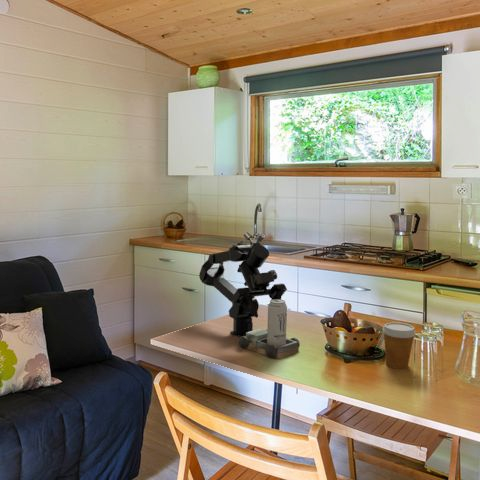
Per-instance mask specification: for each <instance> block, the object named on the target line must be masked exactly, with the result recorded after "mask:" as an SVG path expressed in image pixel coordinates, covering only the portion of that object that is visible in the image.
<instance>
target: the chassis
mask: <svg viewBox="0 0 480 480" xmlns="http://www.w3.org/2000/svg"><path fill="white" fill-rule="evenodd" d="M267 330H268V328H267V329H263V328H257V329H253V331H250V332H246V336H242V337H240V336H239V338H238V342H237V344H238V346H239V347H240V348H241V349H247V350H250V351H253V352H257V353H260V354H262V355H264V356H265V355H266V357H268V358H270V359H272V358H273V359H277V360H280V359H283V358H285V357H288V356H291V355H294V354H296V353H299V352H300V346H301V345H300V340H299V339H298V338H296V337H292V338H287V337H286V345H283V346H280V347H276V346H273V345H270V344H267Z"/></svg>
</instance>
